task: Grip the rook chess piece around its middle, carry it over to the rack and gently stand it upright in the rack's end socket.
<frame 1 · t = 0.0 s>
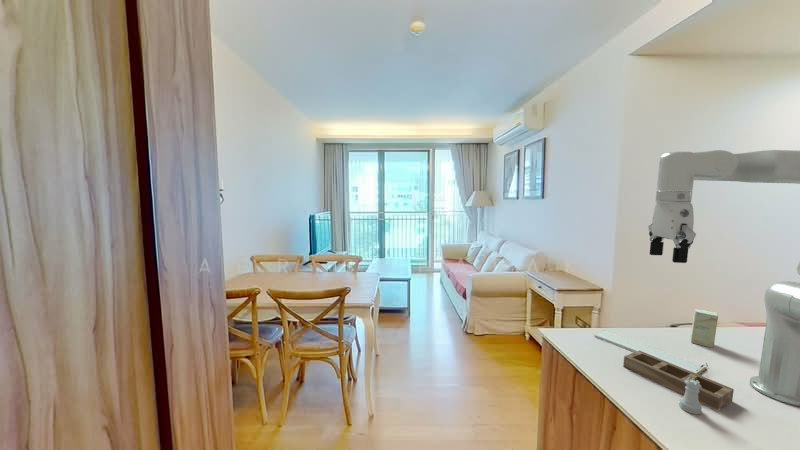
hand: (667, 258, 90), 37 cm above the kitchen counter, tool pointing down, fingers open, 9 cm apart
rack: (672, 382, 94), on the kitchen counter
skincare box: (702, 343, 118), on the kitchen counter
baseboard: (645, 352, 113), on the kitchen counter
rook chess piece: (689, 410, 83), on the kitchen counter
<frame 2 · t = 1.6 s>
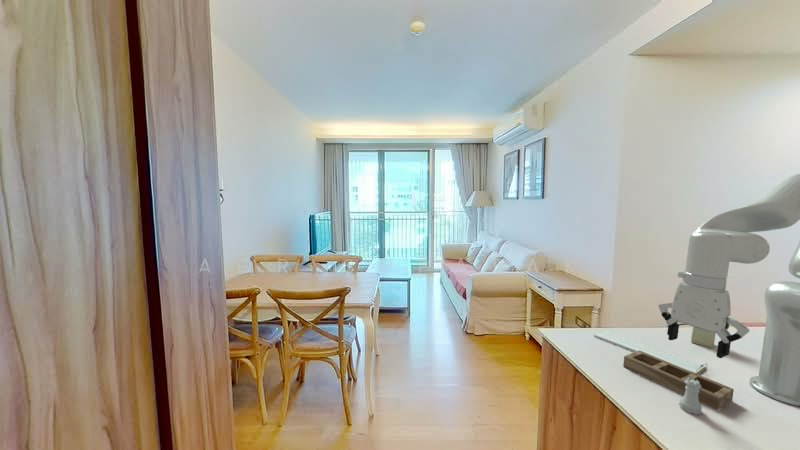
hand: (695, 347, 81), 17 cm above the kitchen counter, tool pointing down, fingers open, 9 cm apart
nothing on the kitchen counter moved.
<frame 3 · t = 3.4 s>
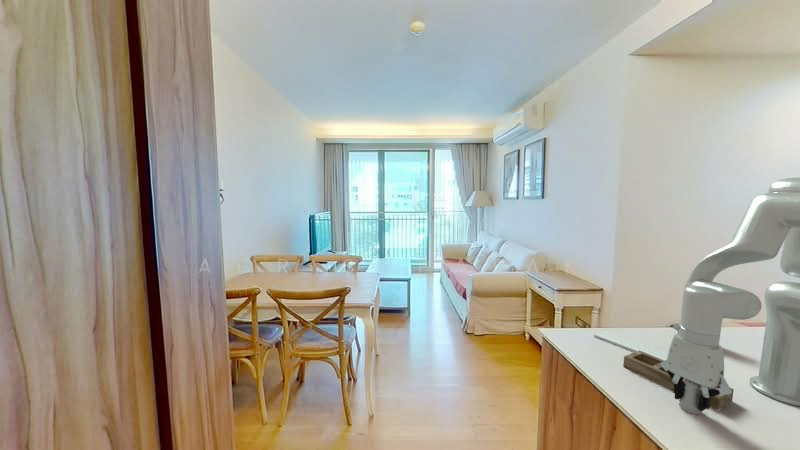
hand: (690, 402, 82), 2 cm above the kitchen counter, tool pointing down, fingers closed on rook chess piece, 4 cm apart
rook chess piece: (689, 409, 83), on the kitchen counter, touching gripper
everything else where it was.
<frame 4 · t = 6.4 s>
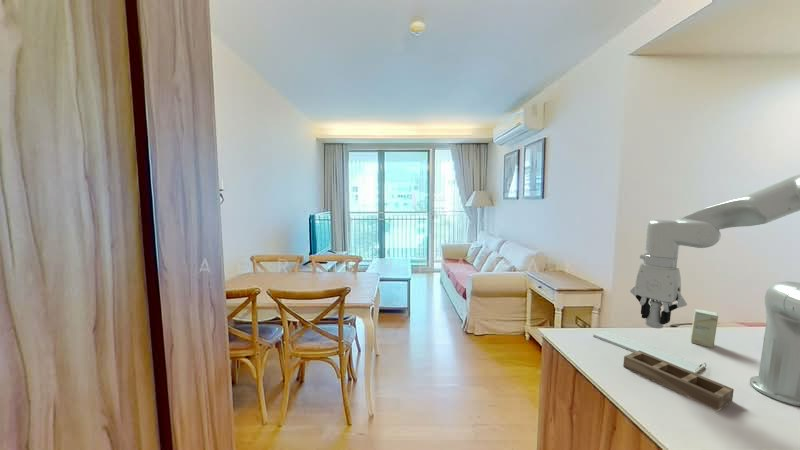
hand: (654, 319, 97), 17 cm above the kitchen counter, tool pointing down, fingers closed on rook chess piece, 4 cm apart
rook chess piece: (653, 326, 97), point 15 cm above the kitchen counter, touching gripper
everything else where it was.
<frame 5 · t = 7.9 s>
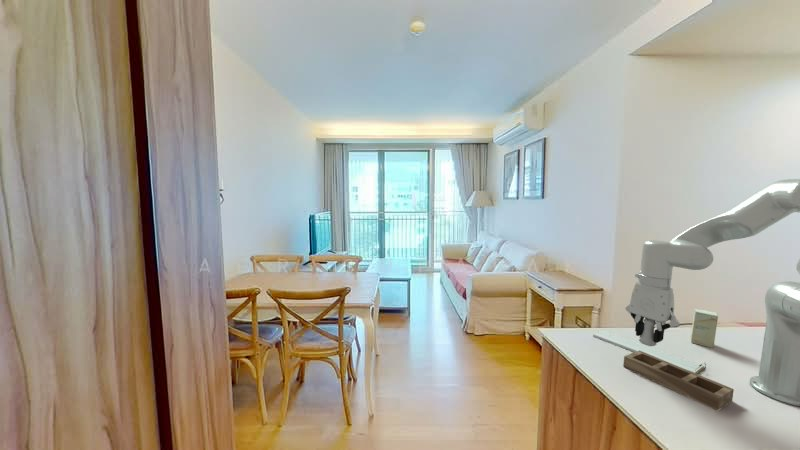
hand: (648, 337, 99), 11 cm above the kitchen counter, tool pointing down, fingers closed on rook chess piece, 4 cm apart
rook chess piece: (647, 343, 100), point 9 cm above the kitchen counter, touching gripper
everything else where it was.
when the fingers open (5 cm above the kitchen counter, at t = 9.3 s): rook chess piece drops 2 cm, resting on rack.
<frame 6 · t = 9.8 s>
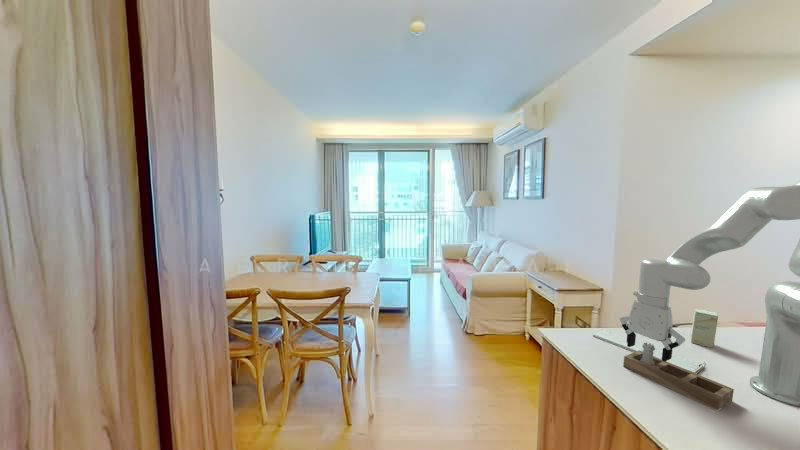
hand: (647, 352, 100), 6 cm above the kitchen counter, tool pointing down, fingers open, 9 cm apart
rook chess piece: (646, 369, 100), resting on rack
everything else where it was.
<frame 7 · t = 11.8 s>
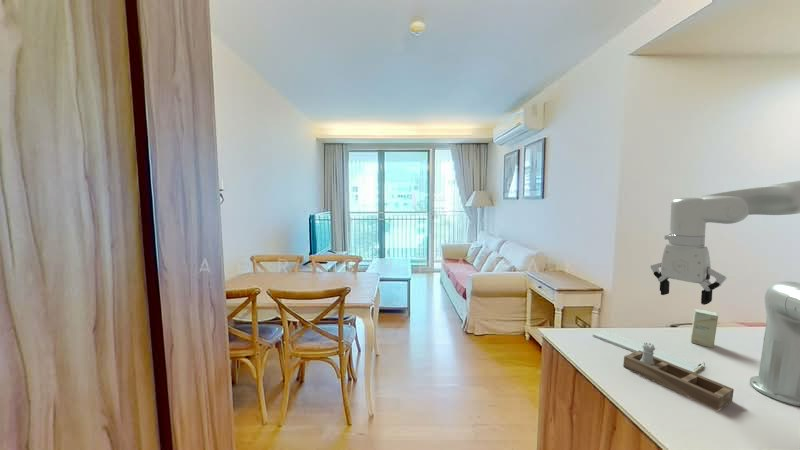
hand: (684, 298, 93), 25 cm above the kitchen counter, tool pointing down, fingers open, 9 cm apart
nothing on the kitchen counter moved.
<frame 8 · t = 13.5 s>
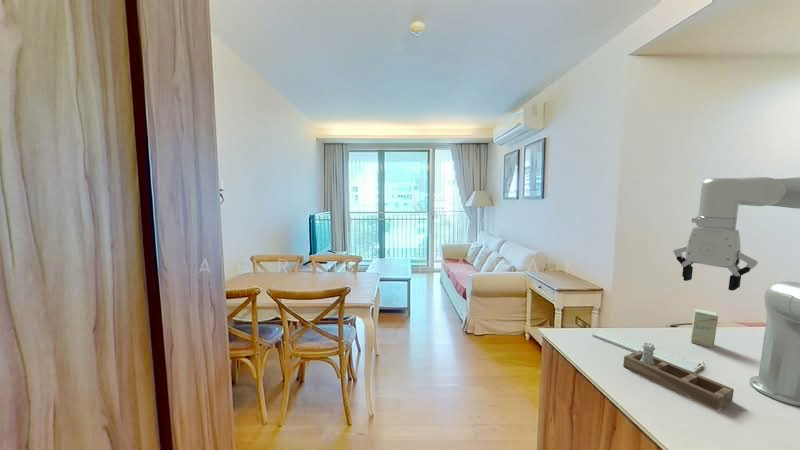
hand: (708, 284, 89), 30 cm above the kitchen counter, tool pointing down, fingers open, 9 cm apart
nothing on the kitchen counter moved.
at the end: rook chess piece 0.1 cm from the target spot on the rack, point 0.3 cm above the rack's base; rook chess piece tilted 0°; the gripper is holding nothing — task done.
